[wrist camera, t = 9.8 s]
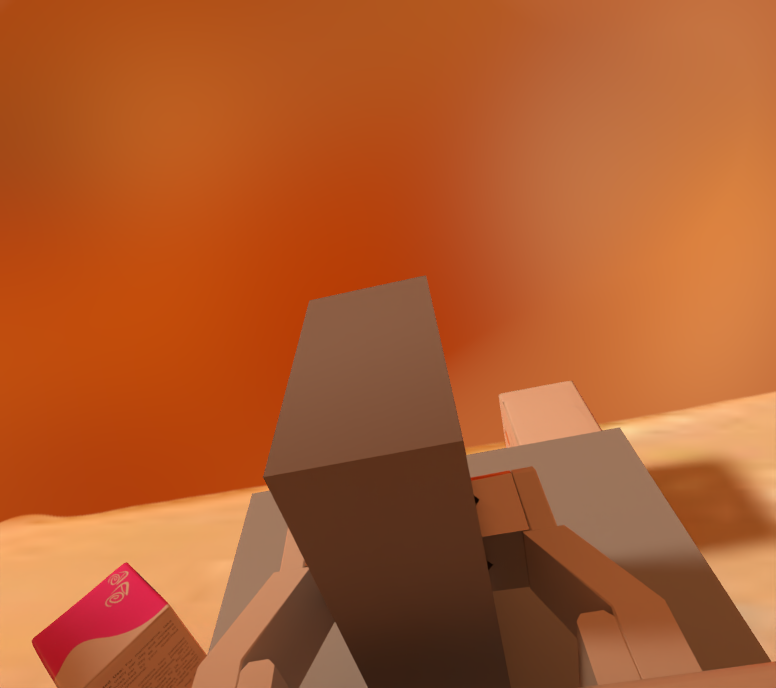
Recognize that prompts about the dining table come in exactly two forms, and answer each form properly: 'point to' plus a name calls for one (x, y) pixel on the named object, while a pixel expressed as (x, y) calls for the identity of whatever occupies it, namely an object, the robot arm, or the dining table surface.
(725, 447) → the dining table surface
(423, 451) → the grey plate with knob
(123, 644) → the supplement box
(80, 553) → the dining table surface
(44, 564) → the dining table surface
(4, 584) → the dining table surface
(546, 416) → the small box
